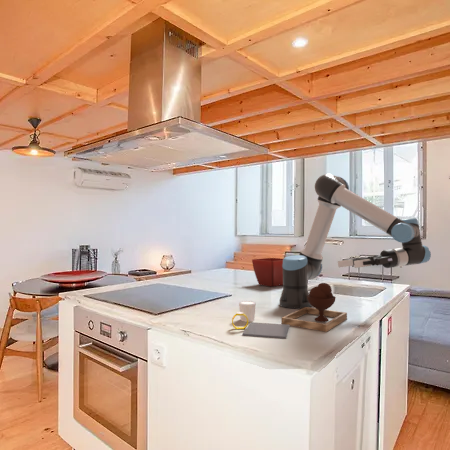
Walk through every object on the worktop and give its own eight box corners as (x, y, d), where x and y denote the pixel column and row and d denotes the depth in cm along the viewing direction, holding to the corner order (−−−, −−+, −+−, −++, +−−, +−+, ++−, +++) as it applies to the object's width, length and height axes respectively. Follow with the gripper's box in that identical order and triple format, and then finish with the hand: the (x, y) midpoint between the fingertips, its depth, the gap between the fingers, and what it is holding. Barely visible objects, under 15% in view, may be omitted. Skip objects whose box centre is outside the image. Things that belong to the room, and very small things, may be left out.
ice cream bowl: (329, 316, 144) (329, 280, 144) (339, 323, 132) (339, 284, 133) (304, 316, 143) (304, 280, 143) (312, 324, 132) (311, 285, 132)
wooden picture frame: (281, 323, 133) (281, 317, 133) (305, 312, 151) (305, 306, 151) (326, 331, 122) (326, 325, 122) (346, 318, 140) (346, 312, 140)
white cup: (245, 316, 145) (245, 300, 145) (259, 319, 140) (259, 302, 140) (235, 320, 139) (235, 302, 139) (249, 323, 135) (249, 305, 135)
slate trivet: (242, 335, 119) (242, 333, 119) (250, 323, 134) (250, 322, 134) (286, 338, 115) (286, 336, 115) (289, 326, 130) (289, 324, 130)
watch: (247, 328, 129) (248, 312, 129) (248, 330, 126) (248, 313, 126) (231, 327, 128) (232, 311, 129) (231, 329, 126) (232, 313, 126)
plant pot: (271, 281, 238) (271, 257, 239) (293, 285, 224) (292, 259, 224) (251, 284, 226) (251, 259, 226) (273, 288, 212) (272, 261, 212)
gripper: (414, 267, 132) (363, 274, 129) (377, 266, 157) (334, 272, 154) (411, 247, 133) (360, 254, 130) (374, 250, 157) (331, 255, 154)
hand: (346, 264), depth 142 cm, fingers open, 13 cm apart
